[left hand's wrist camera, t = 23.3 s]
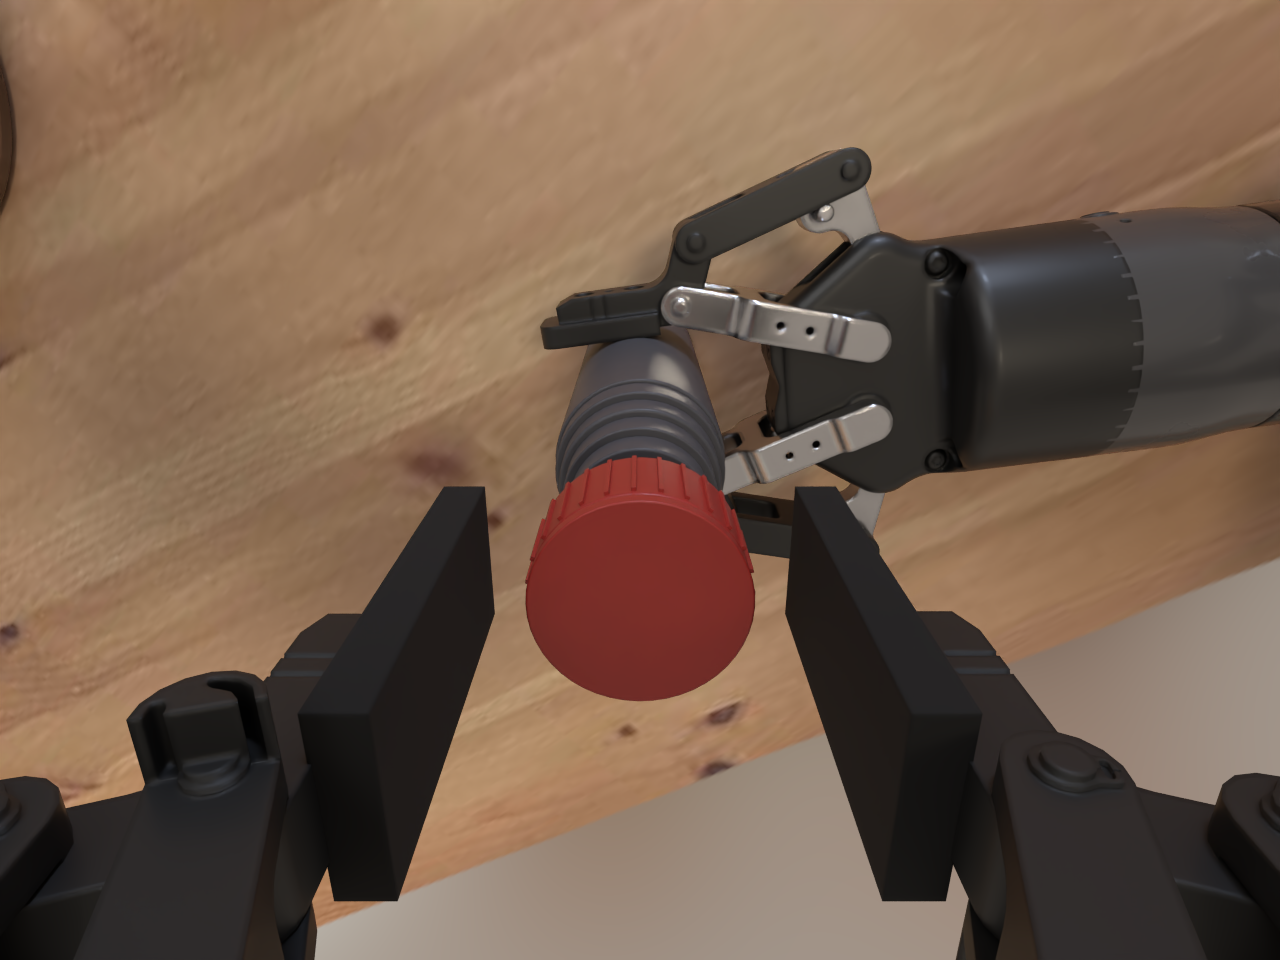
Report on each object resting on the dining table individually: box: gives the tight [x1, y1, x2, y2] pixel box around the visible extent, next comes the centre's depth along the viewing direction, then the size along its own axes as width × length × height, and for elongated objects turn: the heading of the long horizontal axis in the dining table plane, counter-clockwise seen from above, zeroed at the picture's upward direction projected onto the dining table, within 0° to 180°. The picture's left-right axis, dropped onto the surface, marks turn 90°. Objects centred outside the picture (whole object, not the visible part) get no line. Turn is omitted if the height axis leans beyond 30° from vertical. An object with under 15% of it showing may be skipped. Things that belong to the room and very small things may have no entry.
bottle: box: [555, 325, 725, 494], centre depth 23 cm, size 4×4×20 cm
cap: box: [525, 455, 755, 701], centre depth 14 cm, size 4×4×2 cm
